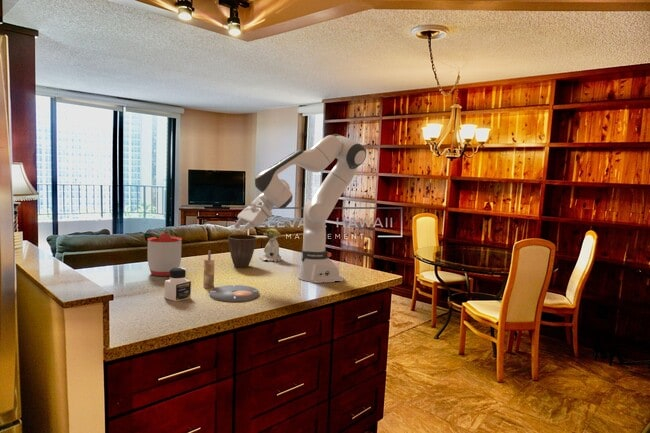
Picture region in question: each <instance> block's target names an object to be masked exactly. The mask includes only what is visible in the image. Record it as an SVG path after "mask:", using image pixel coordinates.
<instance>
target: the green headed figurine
mask: <svg viewBox="0 0 650 433" xmlns="http://www.w3.org/2000/svg"><path fill="white" fill-rule="evenodd" d="M263 235H264V236H266V237H267V239H268V242H267V243H266V245H265V247H264V249H263V253H265V254H264V255H260V256H259V259H262V262H263V261H266V260H267V261H268V262H270V261H271V262H273V261H274V262H275V263H277V262H280V261H281V260H282V256H281V255H280V244H279V242H278V240H277V238H279V237H280V236H281V235H282V234H281V233H280V232H279V231H278V230H277V229H276V228H271V227H270V228H268V229H267V228H266V230H265V232H263Z"/></svg>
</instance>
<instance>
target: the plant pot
mask: <svg viewBox="0 0 650 433" xmlns="http://www.w3.org/2000/svg"><path fill="white" fill-rule="evenodd" d="M227 239H228V246H229V253H230V257H231V260H232V263H233V266H234V267H235V268H238V269H245V268H248V267H249V265H250V263H251V260H252V257H253V255H254V252H255V248H256V243H257V240H258V237H257V236H255V235H249V234H232V235H228V237H227Z"/></svg>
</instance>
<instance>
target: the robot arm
mask: <svg viewBox="0 0 650 433" xmlns="http://www.w3.org/2000/svg"><path fill="white" fill-rule="evenodd" d="M366 149H367V148H365V147H364V146H363V145H362V144H361V143H359V142H356V141H355V140H354V139H351V138H349V137H346V136H343V135H342V134H338V133H334V134H329V135H326V136H324V137H323V138H322V139H320V140H319V141H318V142H316V143H315V144H314V145H312V146H311V148H309V149H306V150H302V149H298V150H295V151H294V152H292V153H290V154H288V155H287V156H286V157H284V158H282V159H281V160H280V161H278V162H276V163H274V164H273V165H272V166H270V167H268V168H267V169H264V170H262V171H261V172H259V173H258V174H257V175H256V176H255V178H254V186H255V188H256V189H257V190H258V191H260V194H259V195H257V197H256V198H255V199H254V200H252V201H251V203H250V205H251V206H250V205H248V206H246V207H245V208H244V209H243V210H241V211H240V212H239V213H238V214H237V221H236V223H235V224H234V225H233V226H234V228H235V229H236V230H237V229H239V228H240V227H241V225H242V224H243V223H245V225H244V226H242V227H241V228H240V230H241V231H242V232H244V233H245V232H247V231H248V230H249V229H251V228H252V227H255V228H257V227H260V226H261V225H262V224H263V223H264V222H265V221H266V220H267V219H268V218H270V217H271V216H272V215H273V212H272V211H273V209H274V207H276V208H277V209H285V208H287V207H288V206H289V204H290V203H292V202H293V193H292V191H291V186H290V184H289V183H288V182H287V181H286V180H284V179H283V178H279V174H280V173H283V171H285V170H286V169H288V168H290V167H291V166H293V165H296V166H299V167H301V168H303V169H304V170H307V171H309V172H311V173H320V172H323V171H324V170H326V168H328V166H329V165H331V164H332V163H333V162H334V160H335V159H337V162H336V164H335V165H334V166H333V168H332V169H331V170H330V172H328V174H327V176H326V177H325V178H324V180H323V181H322V183H321V184H320V185H319V188H318V189H317V191H316V193H315V195H314V196H313V198H312V199H309V200H307V201H306V202H305V204H304V206H303V235H302V236H303V239H302V249H301V257H300V258H301V259H300V260H301V265H300V269H299V273H298V276H297V278H298V279H299V280H302V281H305V282H310V283H315V284H320V283H321V284H322V283H323V282H324V283H336V282H335V281H340V282H343V281H344V276H343V275H342V274H340V269H339V266H338V265H337V264H336V263H335V262H333V260H332V259H330V257H332V253H331V252H329V251H328V250H326V244H327V243H326V242H327V230H326V229H327V228H326V227H327V226H326V221H327V220H328V218H329V216H330V215H331V213H332V212H333V210H334V209H335V207H336V204H337V203H338V201H339V199H340V198H341V196H342V195H343V194H344V192H345V191H346V189H347V188H348V187H349V185H350V184H351V182H352V181H353V178H354V177H355V174H357V173H356V172H357V170H358V167H360V166H361V165H362V164H363V163H364V162H365V160H366V158H367V150H366Z"/></svg>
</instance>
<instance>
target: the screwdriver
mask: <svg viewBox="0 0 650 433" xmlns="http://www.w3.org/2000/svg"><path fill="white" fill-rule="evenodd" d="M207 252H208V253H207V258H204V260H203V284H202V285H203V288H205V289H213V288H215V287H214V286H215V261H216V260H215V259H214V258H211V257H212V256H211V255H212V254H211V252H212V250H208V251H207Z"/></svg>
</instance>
